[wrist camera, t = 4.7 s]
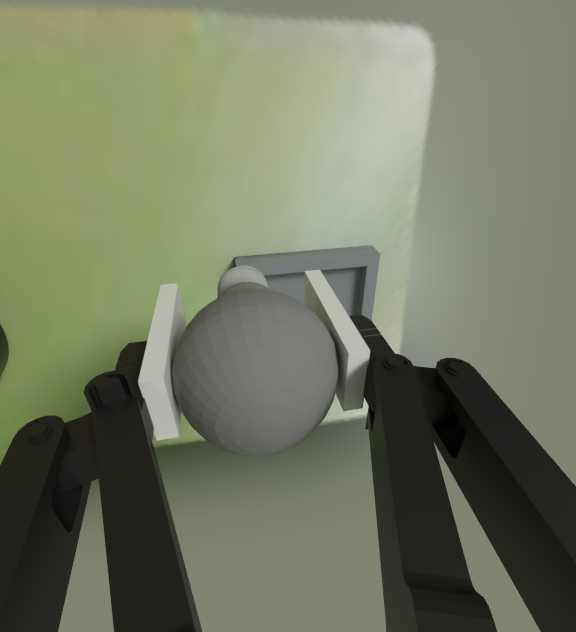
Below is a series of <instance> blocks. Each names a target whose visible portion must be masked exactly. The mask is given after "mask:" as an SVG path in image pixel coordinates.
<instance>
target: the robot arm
mask: <svg viewBox="0 0 576 632" xmlns="http://www.w3.org/2000/svg"><path fill="white" fill-rule="evenodd" d="M304 305H305V306H307V307H308V308H310V309H311V310H312V311H313V312H314V313H315V314H316V315H317V317H318V318H319V319H320V320H321V321H322V322H323V324H324V325H325V326H326V328H327V330H328V332H329V334H330V336H331V337H332V339H333V341H334V343H335V347H336V351H337V355H338V361H339V372H338V384H337V388H336V395H337V397H338V399H339V402H340V404H341V407H342V409H343V411H347V410H353V409H359V408H363V401H364V398H365V400H366V401H367V403H368V405H369V408H368V414H367V422H366V428H365V429H369V438H370V450H371V461H372V472H373V483H374V493H375V504H376V517H377V528H378V539H379V549H380V561H381V571H382V583H383V595H384V604H385V605H384V606H385V616H386V632H497V630H496V627H495V623H494V620H493V617H492V614H491V611H490V609H489V606H488V604H487V603H486V601H485V599H484V597H482V596H481V595H480V594H478V593H477V592H476V591H475V589H474V587H473V585H472V582H471V579H470V575H469V572H468V568H467V564H466V560H465V557H464V553H463V549H462V546H461V542H460V538H459V535H458V531H457V527H456V523H455V520H454V516H453V513H452V509H451V505H450V501H449V498H448V494H447V490H446V487H445V483H444V479H443V475H442V471H441V468H440V464H439V460H438V457H437V453H436V449H435V445H434V443H435V444H436V446H437V448H438V450H439V452H440V453H441V455H442V457H443V459H444V460H445V462H446V464H447V466H448V467H449V469H450V471H451V473H452V475H453V476H454V478H455V480H456V482H457V483H458V485H459V487H460V489H461V491H462V492H463V494H464V496H465V498H466V500H467V501H468V503H469V505H470V506H471V508H472V510H473V512H474V514H475V515H476V517H477V519H478V521H479V523H480V524H481V526H482V528H483V530H484V531H485V533H486V535H487V537H488V539H489V540H490V542H491V544H492V546H493V547H494V549H495V551H496V553H497V555H498V556H499V558H500V560H501V562H502V563H503V565H504V567H505V569H506V571H507V572H508V574H509V576H510V577H511V580H512V581H513V583H514V585H515V587H516V588H517V590H518V592H519V594H520V596H521V597H522V599H523V601H524V603H525V604H526V606H527V608H528V610H529V611H530V613H531V615H532V617H533V619H534V620H535V622H536V624H537V626H538V627H539V629H540V631H541V632H576V486H575V485H574V484H573V483H572V482H571V480H570V479H569V478H568V477H567V476H566V474H565V473H564V472H563V471H562V470H561V469H560V467H559V466H558V465H557V464H556V463H555V462H554V461H553V459H552V458H551V457H550V456H549V455H548V454H547V452H546V451H545V450H544V449H543V448H542V446H541V445H540V444H539V443H538V442H537V441H536V439H535V438H534V437H533V436H532V435H531V434H530V432H529V431H528V430H527V429H526V428H525V427H524V425H523V424H522V423H521V422H520V421H519V420H518V418H517V417H516V416H515V415H514V414H513V413H512V411H511V410H510V409H509V408H508V407H507V406H506V404H505V403H504V402H503V401H502V400H501V399H500V397H499V396H498V395H497V394H496V393H495V392H494V390H493V389H492V388H491V387H490V386H489V385H488V383H487V382H486V381H485V380H484V379H483V378H482V376H481V375H480V374H479V373H478V372H477V371H476V369H475V368H473V366H471V365H470V364H469V363H467V362H465V361H463V360H460V359H456V358H445V359H441V360H440V361H438V362H437V366H436V368H425V367H417V366H413V365H412V363H411V361H410V360H408V359H407V358H406V357H404V356H401V355H399V354H395V353H394V352H393V350H392V349H391V347H390V346H389V345H388V343H387V342H386V340H385V339H384V338H383V336H382V335H381V333H380V332H379V331H378V329H376V326H375V325H374V324H373V322H372V321H371V320H370V319H368V318H367V317H365V316H364V315H356V316H348V314H347V312H346V311H345V309H344V308H343V306H342V304H341V303H340V301H339V300H338V298H337V296H336V295H335V293H334V292H333V290H332V288H331V287H330V285H329V284H328V282H327V280H326V279H325V277H324V276H323V274H322V272H321V271H320V270H311V271H305V287H304ZM185 329H186V322H185V317H184V312H183V307H182V302H181V297H180V292H179V287H178V283H176V284H166V285H161V286H160V290H159V295H158V299H157V303H156V307H155V312H154V316H153V320H152V324H151V329H150V333H149V337H148V341H143V342H134V343H129V344H128V345H127V346H126V347H125V348H124V349H123V350H122V351H121V353H120V356H119V359H118V363H117V365H116V370H115V371H110V372H105V373H103V374H101V375H98V376H96V377H95V378H94V379H92V380H91V381H90V382H89V383H88V384H87V385H86V387H85V390H84V394H85V396H86V399H87V401H88V403H89V406H90V408H91V410H92V412H91V413H89V414H87V415H85V416H82V417H80V418H77V419H74V420H72V421H69V422H66V423H64V421H63V420H62V419H61V417H57V416H44V417H41V418H37V419H35V420H33V421H31V422H29V423H27V424H26V425H25V426H24V427H22V428H21V429H20V430H19V431H18V432H17V434H16V435H15V436H14V438H13V440H12V442H11V444H10V446H9V448H8V450H7V453H6V455H5V457H4V459H3V461H2V463H1V465H0V632H58V628H59V624H60V620H61V615H62V611H63V606H64V602H65V597H66V593H67V588H68V584H69V579H70V575H71V570H72V565H73V561H74V557H75V552H76V548H77V543H78V539H79V534H80V530H81V525H82V521H83V516H84V512H85V507H86V503H87V498H88V494H89V489H90V485H91V481H93V480H96V479H98V478H99V484H100V494H101V504H102V514H103V524H104V534H105V543H106V544H105V545H106V554H107V565H108V573H109V585H110V595H111V605H112V615H113V624H114V632H202V629H201V625H200V621H199V617H198V614H197V610H196V606H195V602H194V599H193V595H192V591H191V587H190V583H189V579H188V576H187V572H186V568H185V564H184V560H183V557H182V553H181V549H180V545H179V541H178V537H177V534H176V530H175V526H174V522H173V518H172V515H171V511H170V507H169V503H168V499H167V496H166V492H165V488H164V484H163V480H162V477H161V473H160V469H159V466H158V461H157V458H156V454H155V450H154V447H153V444H152V438H153V431H154V434H155V437H156V440H157V441H158V440H164V439H170V438H177V437H179V433H180V420H181V410H180V407H179V405H178V403H177V399H176V396H175V393H174V390H173V382H172V367H173V361H174V356H175V352H176V348H177V345H178V343H179V341H180V339H181V337H182V335H183V333H184V331H185ZM7 358H8V344H7V339H6V336H5V333H4V331H3V329H2V327H1V325H0V374H1V372H2V371H3V369H4V367H5V365H6V362H7ZM433 441H434V442H433Z"/></svg>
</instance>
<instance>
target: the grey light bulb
mask: <svg viewBox="0 0 576 632" xmlns="http://www.w3.org/2000/svg"><path fill="white" fill-rule="evenodd" d="M338 372H339V361H338V355H337V351H336V347H335V343H334V341H333V339H332V337H331V336H330V334H329V332H328V330H327V328H326V326H325V325H324V324H323V322H322V321H321V320H320V319H319V318H318V317H317V315H316V314H315V313H314V312H313V311H312V310H311V309H310V308H308V307H307V306H305V305H304V304H303V303H301V302H300V301H298V300H297V299H295V298H294V297H291V296H289V295H287V294H284V293H282V292H277V291H272V290H270V289H269V288H268V285H267V282H266V279H265V277H264V275H263V274H262V273H261V272H260V271H259V270H257V269H256V268H253V267H250V266H237V267H234V268H232V269H230V270H228V271H227V272H226V273H224V275H223V276H222V277H221V279H220V281H219V284H218V297H217V299H216V300H215V301H213V302H211V303H209V304H208V305H207V306H205V307H204V308H203V309H202V310H201V311H199V312H198V313H197V315H196V316H195V317H194V318H193V319H192V321H191V322H190V323H189V324H188V326H187V327H186V329H185V331H184V333H183V335H182V337H181V339H180V341H179V343H178V345H177V348H176V352H175V356H174V361H173V367H172V382H173V390H174V393H175V396H176V399H177V403H178V405H179V407H180V410H181V411H182V413H183V414H184V416H185V418H186V419H187V421H188V422H189V423H190V425H191V426H192V427H193V428H194V429H195V430H196V431H197V432H198V433H199V434H200V435H201V436H202V437H203V438H204V439H205V440H207V441H208V442H210V443H212V444H213V445H215V446H217V447H219V448H221V449H223V450H225V451H228V452H230V453H234V454H238V455H243V456H268V455H273V454H277V453H280V452H283V451H286V450H288V449H290V448H292V447H294V446H296V445H297V444H299V443H300V442H302V441H303V440H305V439H306V438H307V437H308V436H309V435H310V434H311V433H313V431H314V430H315V429H316V428H317V427H318V425H319V424H320V423H321V422H322V420H323V419H324V418H325V416H326V414H327V412H328V410H329V409H330V406H331V404H332V402H333V400H334V396H335V392H336V388H337V384H338Z"/></svg>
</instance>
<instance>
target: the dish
mask: <svg viewBox="0 0 576 632" xmlns="http://www.w3.org/2000/svg"><path fill="white" fill-rule="evenodd" d="M379 258H380V253H379V252H378V251H377V250H376V249H375V248H374V247H373V246H372V245H371V246H359V247H348V248H336V249H324V250H312V251H301V252H289V253H277V254H266V255H254V256H242V257H235V266H236V267H237V266H250V267H253V268H256V269H257V270H259V271H260V272H261V273H262V274H263V275H264V277H265V279H266V282H267V285H268V288H269V289H270V290H272V291H277V292H282V293H284V294H287V295H289V296H291V297H294V298H295V299H297V300H298V301H300V302H301V303H303V304H304V287H305V271H311V270H320V271H321V272H322V274H323V276H324V277H325V279H326V280H327V282H328V284H329V285H330V287H331V288H332V290H333V292H334V293H335V295H336V296H337V298H338V300H339V301H340V303H341V304H342V306H343V308H344V309H345V311H346V312H347V314H348V316H356V315H364V316H365V317H367V318H368V319H370V320H372V312H373V304H374V296H375V289H376V281H377V273H378V266H379Z"/></svg>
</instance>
